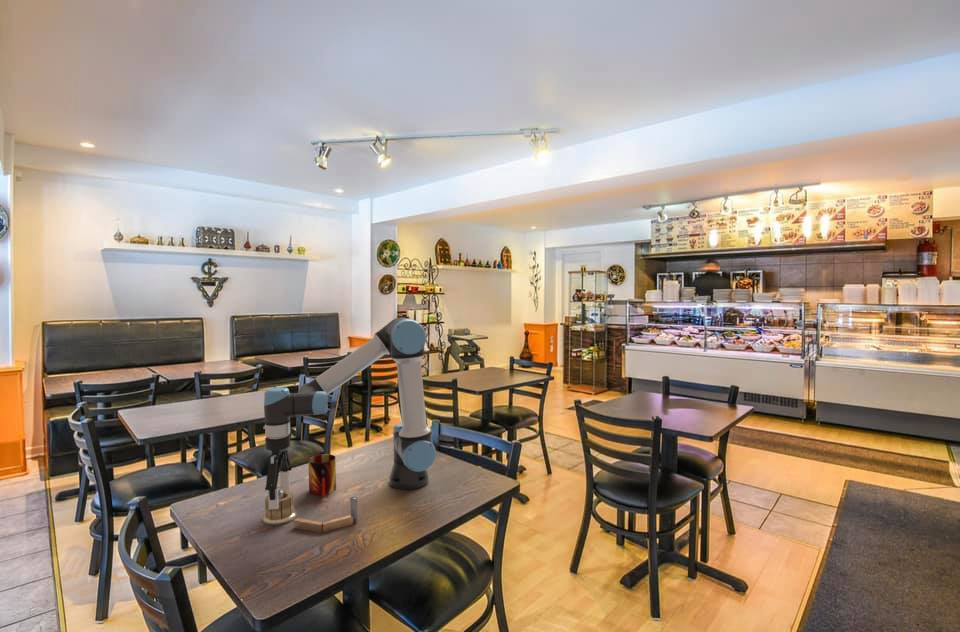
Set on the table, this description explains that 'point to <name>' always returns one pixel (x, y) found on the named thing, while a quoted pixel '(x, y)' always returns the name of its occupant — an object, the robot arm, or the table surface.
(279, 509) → the oak ring
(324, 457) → the mug
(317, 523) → the bent hammer
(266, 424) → the robot arm
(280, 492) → the peg stand
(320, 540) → the table surface
